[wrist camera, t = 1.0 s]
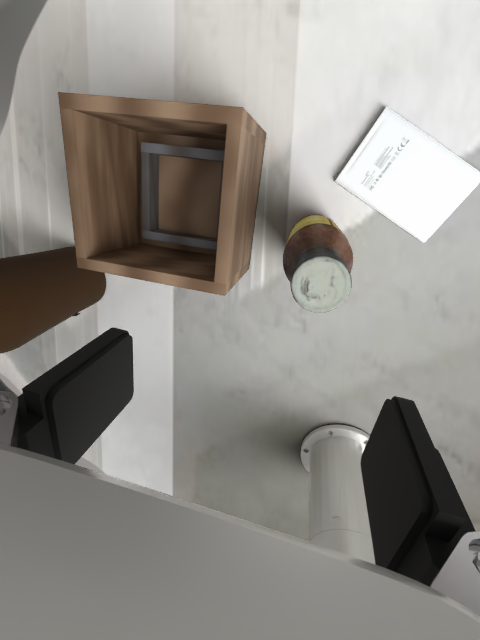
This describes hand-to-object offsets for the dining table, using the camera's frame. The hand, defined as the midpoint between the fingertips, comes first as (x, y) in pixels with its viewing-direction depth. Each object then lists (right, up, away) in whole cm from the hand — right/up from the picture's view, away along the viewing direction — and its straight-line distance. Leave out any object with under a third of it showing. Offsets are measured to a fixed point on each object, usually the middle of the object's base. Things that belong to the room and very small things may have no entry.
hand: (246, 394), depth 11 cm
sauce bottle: (+9, +13, +27) cm, 32 cm away
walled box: (-6, +19, +29) cm, 35 cm away
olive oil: (-26, +10, +38) cm, 47 cm away
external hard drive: (+18, +19, +23) cm, 35 cm away
